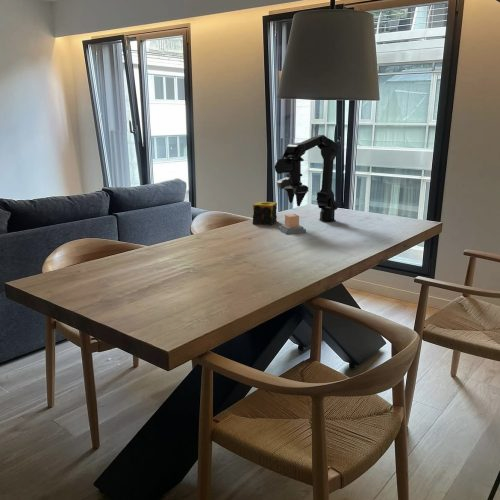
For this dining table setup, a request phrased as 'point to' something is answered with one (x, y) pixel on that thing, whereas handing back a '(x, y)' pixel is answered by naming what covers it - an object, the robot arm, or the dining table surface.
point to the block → (292, 220)
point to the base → (291, 229)
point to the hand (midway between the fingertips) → (294, 204)
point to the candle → (264, 213)
